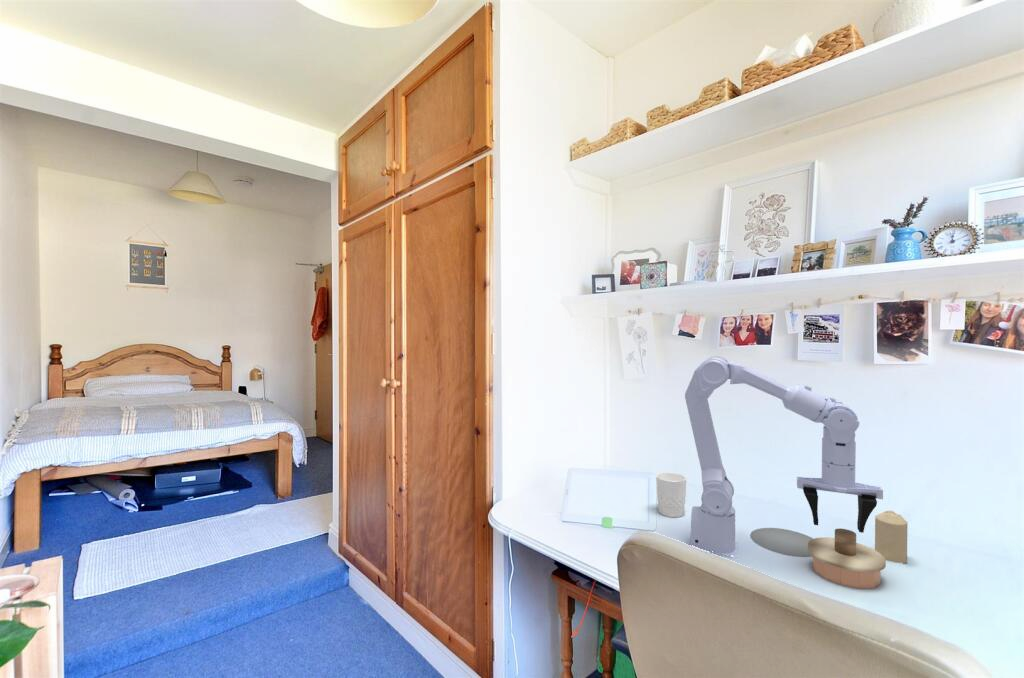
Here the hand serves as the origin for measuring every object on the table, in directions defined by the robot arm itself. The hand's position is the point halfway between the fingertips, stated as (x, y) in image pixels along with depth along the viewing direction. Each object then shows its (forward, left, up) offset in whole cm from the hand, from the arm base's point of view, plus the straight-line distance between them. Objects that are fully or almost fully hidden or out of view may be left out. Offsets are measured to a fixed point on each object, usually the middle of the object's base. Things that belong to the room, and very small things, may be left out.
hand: (837, 527), depth 97 cm
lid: (+1, -1, -5) cm, 6 cm away
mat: (-9, +10, -9) cm, 16 cm away
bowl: (+1, -1, -9) cm, 9 cm away
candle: (+11, +12, -10) cm, 19 cm away
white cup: (-36, +17, -10) cm, 41 cm away
